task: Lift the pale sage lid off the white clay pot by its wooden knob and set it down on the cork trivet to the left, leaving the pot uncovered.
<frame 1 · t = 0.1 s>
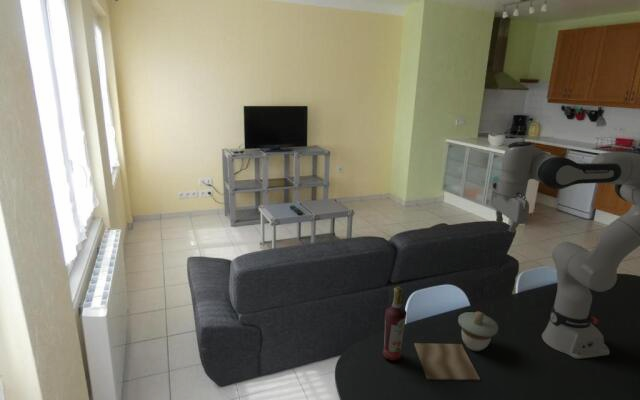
hand: (505, 226, 135), 48 cm above the table, fingers open, 8 cm apart
trivet: (445, 361, 137), on the table
lid: (477, 324, 143), point 9 cm above the table, touching lidded jar
liquor: (391, 356, 139), on the table
lidded jar: (473, 346, 146), on the table, touching lid
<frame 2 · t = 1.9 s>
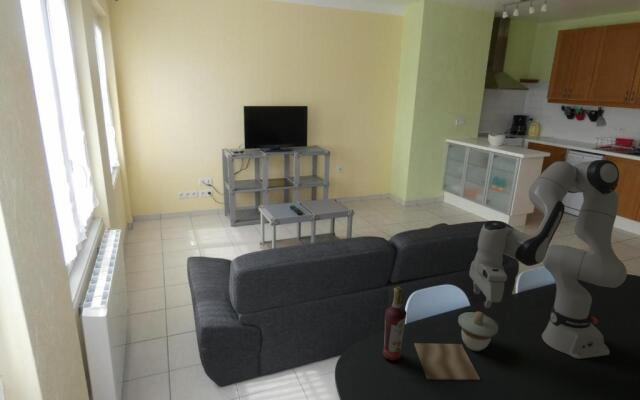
hand: (481, 299, 140), 20 cm above the table, fingers open, 8 cm apart
nothing on the table moved.
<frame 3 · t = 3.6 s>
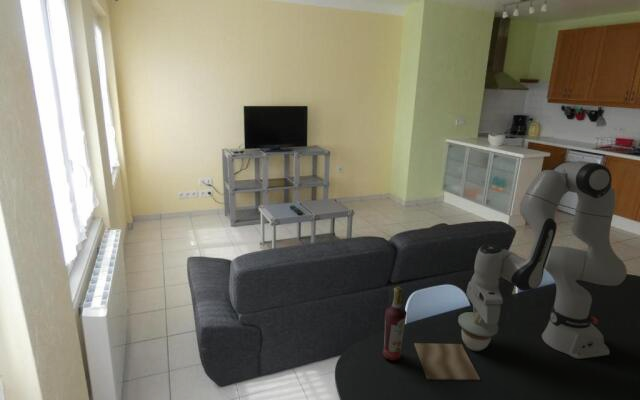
hand: (478, 320, 143), 11 cm above the table, fingers closed on lid, 3 cm apart
lid: (477, 324, 143), point 9 cm above the table, touching gripper
lidded jar: (473, 346, 146), on the table
everything else where it was.
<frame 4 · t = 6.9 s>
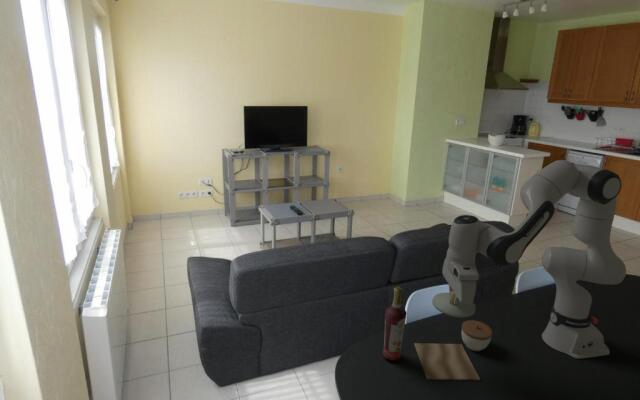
hand: (454, 300, 130), 25 cm above the table, fingers closed on lid, 3 cm apart
lid: (453, 305, 130), point 23 cm above the table, touching gripper
everything else where it was.
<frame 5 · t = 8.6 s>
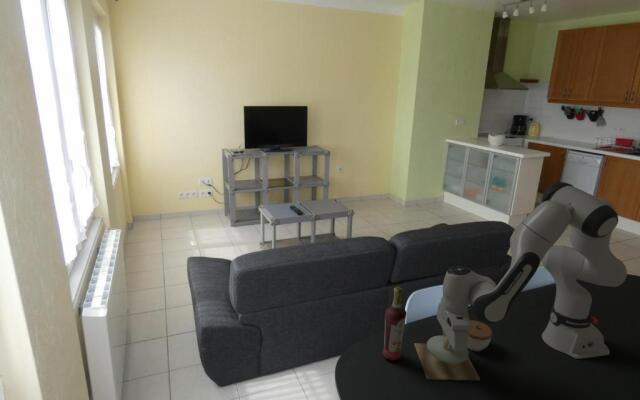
hand: (448, 345, 135), 7 cm above the table, fingers closed on lid, 3 cm apart
lid: (447, 349, 135), point 5 cm above the table, touching gripper
everything else where it was.
when the fingers open (4 cm above the table, at t = 9.9 s): lid stays where it is, resting on trivet.
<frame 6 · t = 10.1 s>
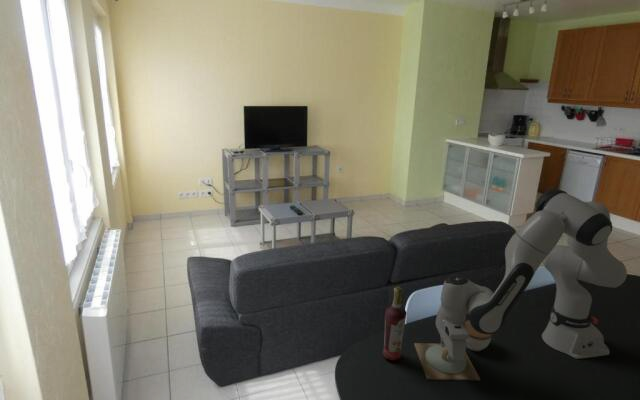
hand: (446, 353, 136), 4 cm above the table, fingers open, 5 cm apart
lid: (445, 360, 137), point 1 cm above the table, touching trivet
everything else where it was.
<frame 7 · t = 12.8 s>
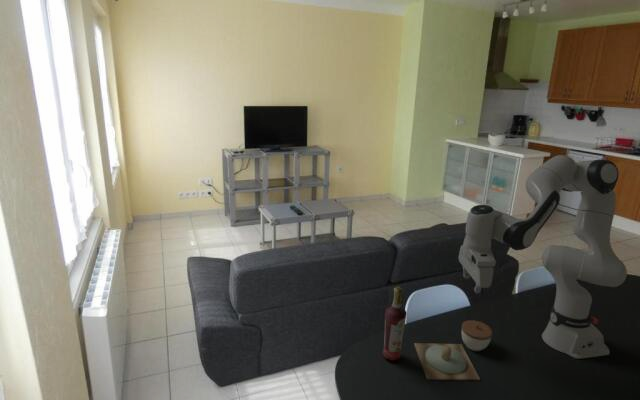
hand: (471, 284, 138), 26 cm above the table, fingers open, 8 cm apart
nothing on the table moved.
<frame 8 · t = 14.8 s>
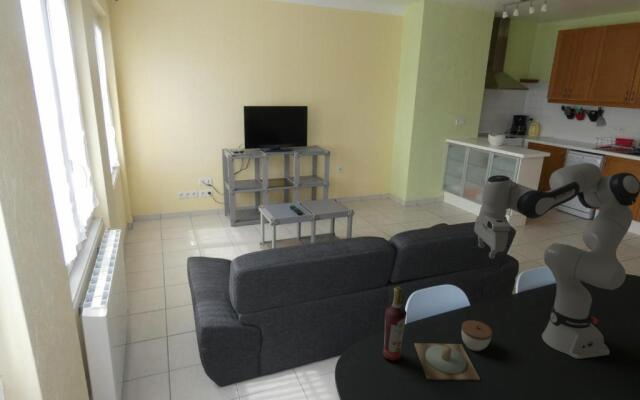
hand: (486, 252, 147), 34 cm above the table, fingers open, 8 cm apart
nothing on the table moved.
at the end: lid inside the target area on the trivet (0.0 cm from its centre), point 0.6 cm above the trivet's base; lid touching trivet; the gripper is holding nothing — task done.
